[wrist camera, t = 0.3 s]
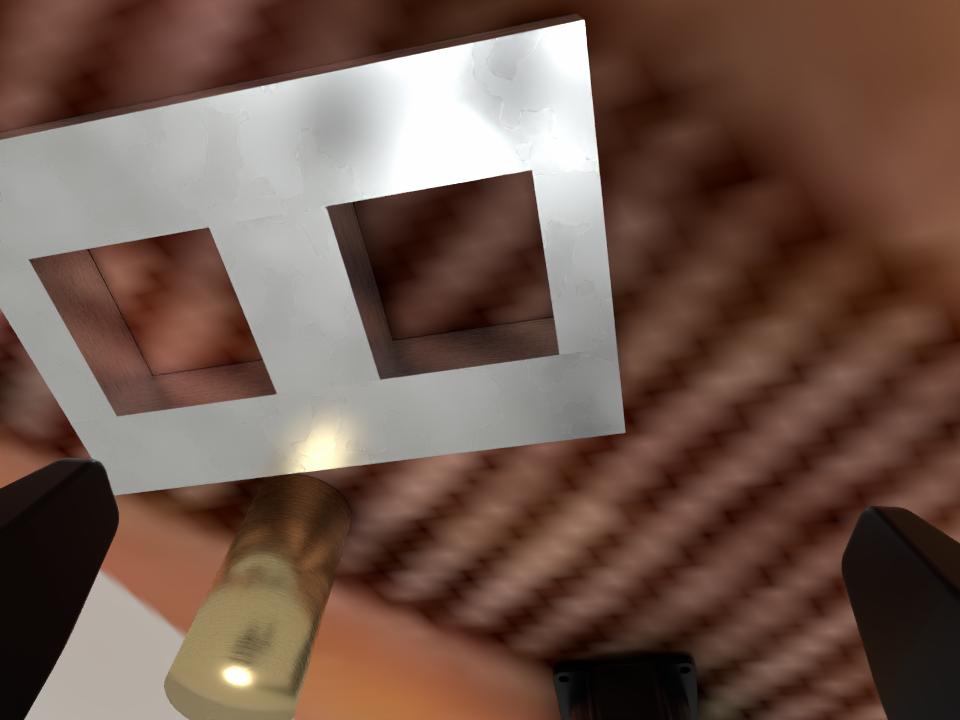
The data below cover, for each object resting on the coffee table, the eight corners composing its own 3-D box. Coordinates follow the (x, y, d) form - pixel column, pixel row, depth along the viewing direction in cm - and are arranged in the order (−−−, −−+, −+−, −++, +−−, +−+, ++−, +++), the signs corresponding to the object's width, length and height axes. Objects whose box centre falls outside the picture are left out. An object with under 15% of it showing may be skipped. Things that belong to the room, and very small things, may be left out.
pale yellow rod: (362, 542, 28) (312, 731, 21) (273, 552, 28) (196, 739, 22) (334, 469, 26) (269, 651, 19) (238, 481, 27) (141, 661, 20)
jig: (615, 389, 24) (625, 432, 21) (147, 451, 26) (114, 495, 24) (576, 13, 18) (584, 19, 15) (-26, 137, 20) (-91, 158, 18)
